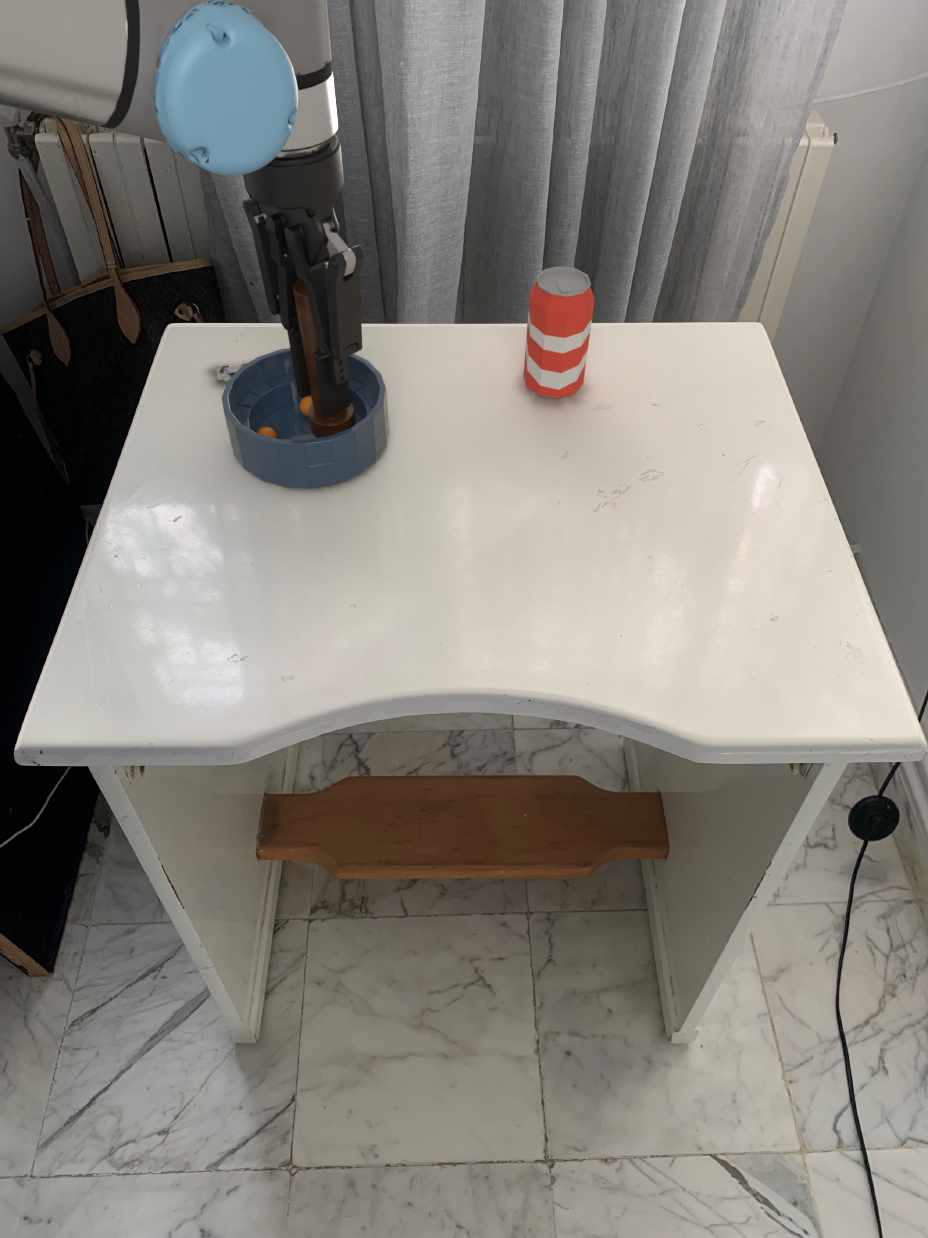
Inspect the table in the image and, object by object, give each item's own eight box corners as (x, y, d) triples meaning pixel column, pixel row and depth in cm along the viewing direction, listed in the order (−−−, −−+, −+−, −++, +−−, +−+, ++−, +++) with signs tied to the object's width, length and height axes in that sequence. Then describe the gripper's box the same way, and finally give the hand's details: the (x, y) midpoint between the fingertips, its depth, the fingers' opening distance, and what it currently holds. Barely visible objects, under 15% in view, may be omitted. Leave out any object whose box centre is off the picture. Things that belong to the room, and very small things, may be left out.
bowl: (218, 491, 84) (205, 440, 79) (251, 393, 93) (241, 343, 89) (380, 497, 83) (375, 447, 79) (395, 398, 93) (393, 348, 88)
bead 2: (299, 419, 90) (293, 402, 88) (307, 407, 91) (302, 391, 89) (317, 421, 89) (311, 404, 87) (325, 409, 90) (320, 392, 89)
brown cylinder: (302, 435, 86) (275, 293, 74) (324, 408, 88) (301, 267, 77) (343, 446, 85) (322, 304, 73) (363, 419, 87) (346, 277, 76)
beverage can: (528, 404, 93) (537, 299, 83) (520, 369, 97) (527, 264, 87) (586, 402, 93) (601, 296, 84) (575, 366, 97) (588, 261, 88)
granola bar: (279, 364, 97) (278, 356, 96) (281, 376, 95) (280, 368, 95) (217, 372, 96) (215, 363, 95) (217, 384, 94) (215, 376, 94)
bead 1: (264, 450, 87) (251, 446, 85) (265, 430, 87) (251, 425, 86) (281, 448, 86) (267, 444, 85) (281, 428, 86) (268, 423, 85)
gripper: (397, 158, 63) (410, 424, 82) (268, 90, 71) (306, 347, 89) (312, 189, 60) (344, 459, 78) (186, 115, 68) (242, 377, 86)
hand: (324, 399), depth 84 cm, fingers closed on brown cylinder, 3 cm apart
